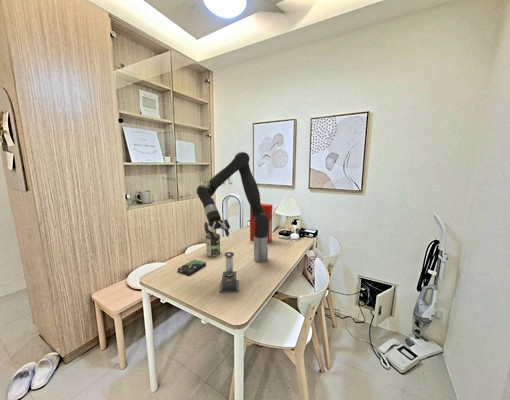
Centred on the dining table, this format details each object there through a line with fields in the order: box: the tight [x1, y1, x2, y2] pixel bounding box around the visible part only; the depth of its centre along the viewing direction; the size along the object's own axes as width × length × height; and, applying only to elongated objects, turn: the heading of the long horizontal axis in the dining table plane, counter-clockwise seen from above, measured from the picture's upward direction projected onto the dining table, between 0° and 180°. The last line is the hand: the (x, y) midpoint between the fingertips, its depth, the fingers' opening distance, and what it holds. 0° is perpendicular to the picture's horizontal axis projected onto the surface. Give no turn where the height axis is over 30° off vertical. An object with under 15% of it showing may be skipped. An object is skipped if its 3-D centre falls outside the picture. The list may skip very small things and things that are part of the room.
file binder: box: [249, 203, 273, 244], centre depth 182 cm, size 8×17×32 cm, turn 67°
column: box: [224, 251, 235, 277], centre depth 113 cm, size 5×5×13 cm
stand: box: [219, 270, 240, 294], centre depth 114 cm, size 10×10×7 cm
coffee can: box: [205, 232, 221, 257], centre depth 156 cm, size 10×10×14 cm
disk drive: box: [177, 259, 207, 277], centre depth 134 cm, size 10×3×15 cm
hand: (221, 237), depth 118 cm, fingers open, 8 cm apart
